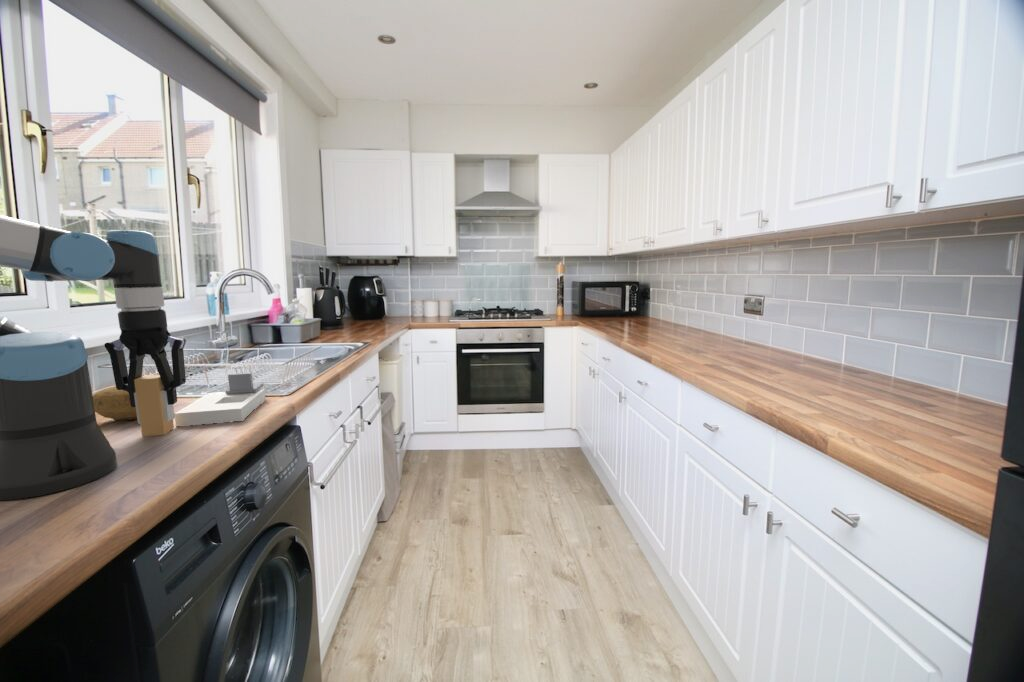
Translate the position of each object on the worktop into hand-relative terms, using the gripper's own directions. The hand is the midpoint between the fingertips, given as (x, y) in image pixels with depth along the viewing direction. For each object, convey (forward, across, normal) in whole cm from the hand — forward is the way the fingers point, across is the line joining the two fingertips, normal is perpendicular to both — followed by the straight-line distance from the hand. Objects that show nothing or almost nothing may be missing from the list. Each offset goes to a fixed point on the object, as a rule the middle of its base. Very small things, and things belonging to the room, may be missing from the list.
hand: (156, 420), depth 94 cm
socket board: (+3, -8, -12) cm, 15 cm away
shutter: (-1, -10, -21) cm, 23 cm away
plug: (+3, 0, 0) cm, 3 cm away
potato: (+3, +11, -13) cm, 17 cm away
